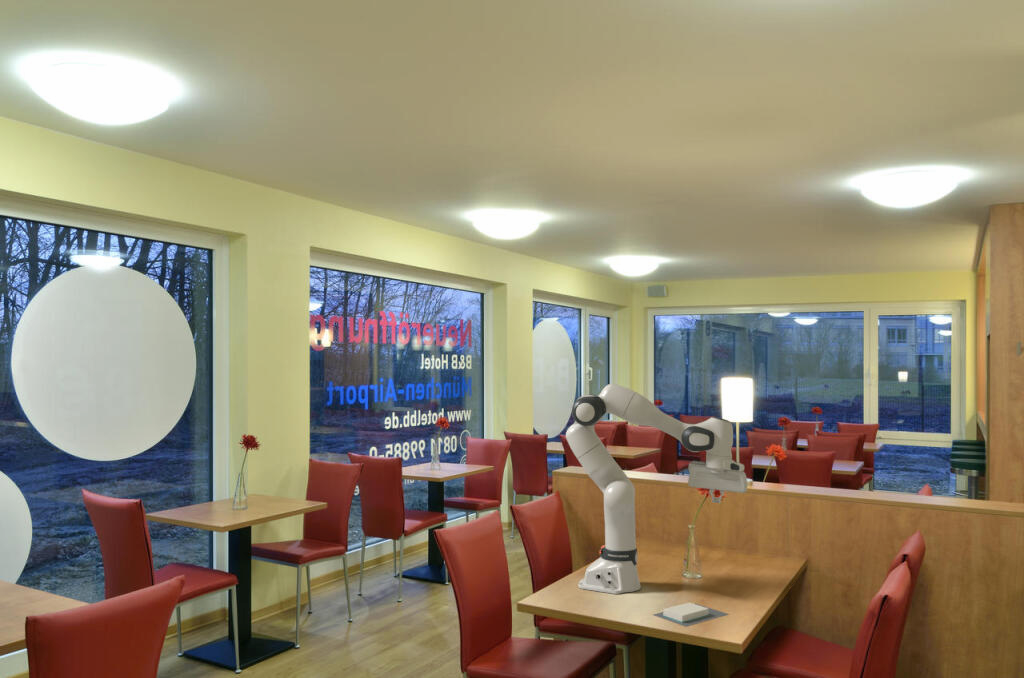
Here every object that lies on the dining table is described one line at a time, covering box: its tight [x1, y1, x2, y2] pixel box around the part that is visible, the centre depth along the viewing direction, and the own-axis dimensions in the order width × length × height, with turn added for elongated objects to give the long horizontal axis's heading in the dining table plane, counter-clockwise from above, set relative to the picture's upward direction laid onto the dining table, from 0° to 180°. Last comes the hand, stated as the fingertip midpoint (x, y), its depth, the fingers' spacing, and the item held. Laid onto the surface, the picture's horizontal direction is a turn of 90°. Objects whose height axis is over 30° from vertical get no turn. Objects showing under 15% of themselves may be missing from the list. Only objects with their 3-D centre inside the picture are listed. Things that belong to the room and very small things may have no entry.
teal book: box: [662, 602, 709, 623], centre depth 241 cm, size 2×8×12 cm
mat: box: [653, 603, 730, 628], centre depth 242 cm, size 20×14×1 cm
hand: (716, 502), depth 269 cm, fingers closed
